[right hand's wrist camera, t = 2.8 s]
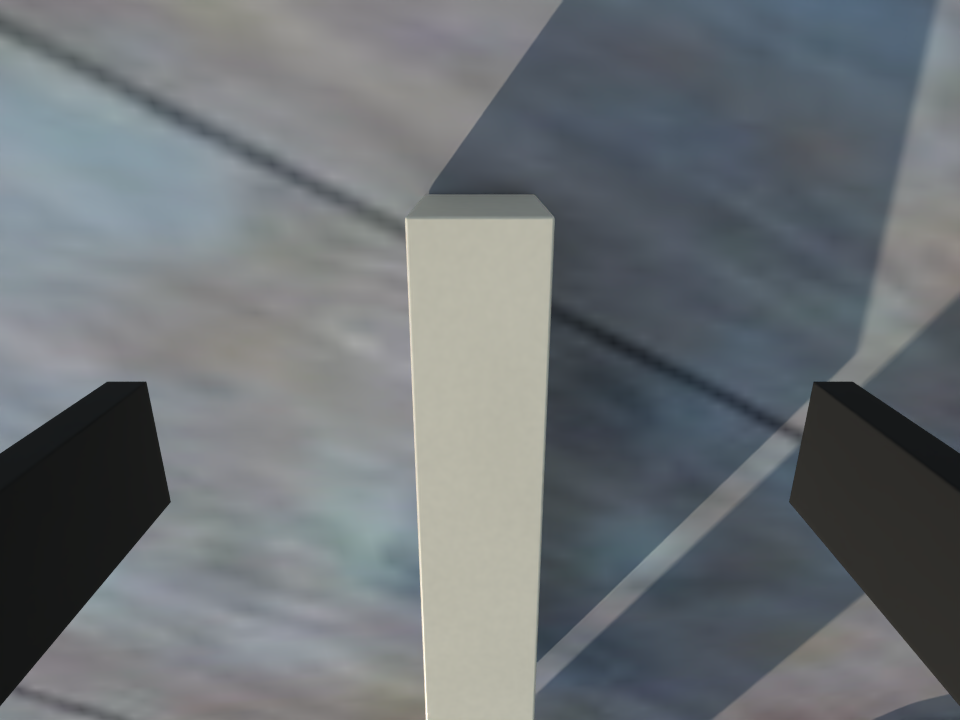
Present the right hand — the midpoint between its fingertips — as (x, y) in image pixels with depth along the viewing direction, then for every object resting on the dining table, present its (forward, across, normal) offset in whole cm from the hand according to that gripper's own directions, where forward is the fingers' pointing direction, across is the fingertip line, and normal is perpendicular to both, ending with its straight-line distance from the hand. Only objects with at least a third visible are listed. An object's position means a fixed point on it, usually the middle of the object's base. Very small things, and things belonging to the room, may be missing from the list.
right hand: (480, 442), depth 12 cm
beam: (+15, 0, -10) cm, 18 cm away
